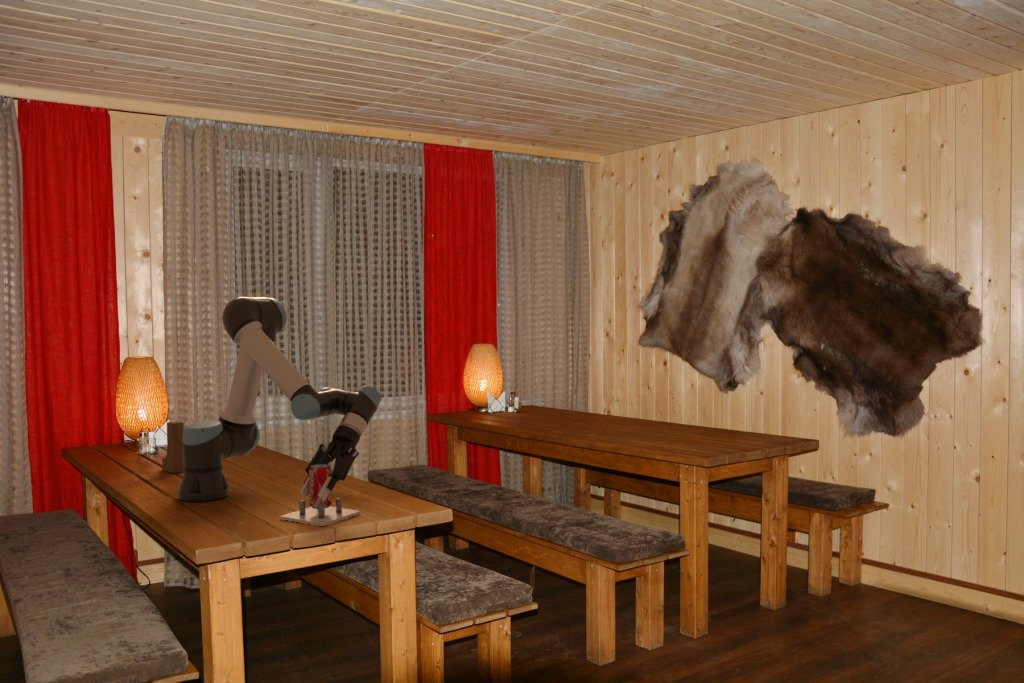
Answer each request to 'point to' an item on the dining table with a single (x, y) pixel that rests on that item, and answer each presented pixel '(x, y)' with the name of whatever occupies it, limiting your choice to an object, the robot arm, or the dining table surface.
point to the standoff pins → (322, 507)
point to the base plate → (313, 516)
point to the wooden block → (174, 448)
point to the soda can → (318, 484)
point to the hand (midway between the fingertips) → (311, 496)
